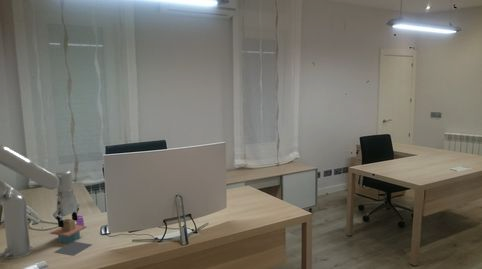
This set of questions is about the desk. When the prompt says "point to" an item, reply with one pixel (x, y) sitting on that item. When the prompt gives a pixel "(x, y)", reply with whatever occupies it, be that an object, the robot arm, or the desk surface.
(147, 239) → the desk surface
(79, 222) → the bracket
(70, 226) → the lid
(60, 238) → the bowl
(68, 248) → the mat
